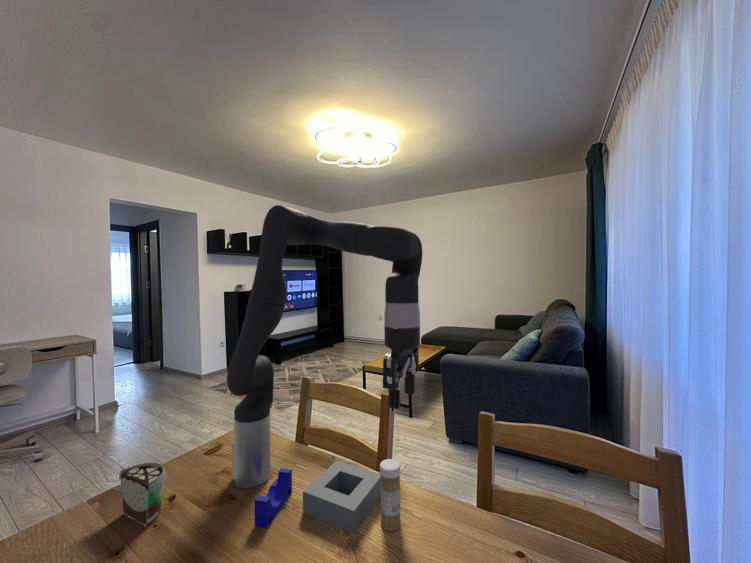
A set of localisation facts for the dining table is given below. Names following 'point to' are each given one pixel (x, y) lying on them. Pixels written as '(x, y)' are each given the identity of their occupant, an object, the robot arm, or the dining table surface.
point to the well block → (343, 496)
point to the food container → (142, 491)
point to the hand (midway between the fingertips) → (402, 400)
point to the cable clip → (273, 499)
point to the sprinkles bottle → (390, 494)
